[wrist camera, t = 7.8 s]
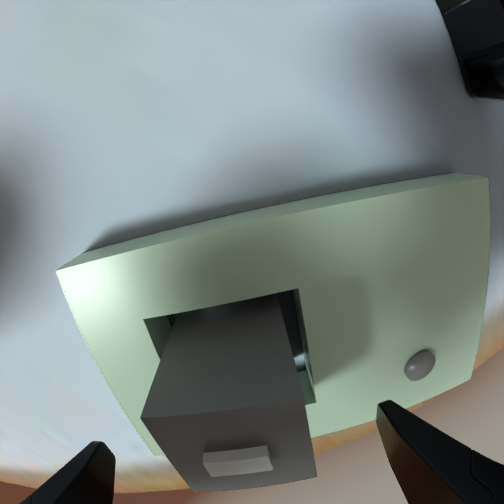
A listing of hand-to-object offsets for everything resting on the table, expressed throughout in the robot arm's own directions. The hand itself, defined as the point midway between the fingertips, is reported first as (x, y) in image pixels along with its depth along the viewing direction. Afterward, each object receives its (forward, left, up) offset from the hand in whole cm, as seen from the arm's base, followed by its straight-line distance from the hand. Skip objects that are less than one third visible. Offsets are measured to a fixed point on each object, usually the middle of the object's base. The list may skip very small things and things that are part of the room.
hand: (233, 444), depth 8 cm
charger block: (0, 0, -6) cm, 6 cm away
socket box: (-3, 0, -6) cm, 7 cm away
